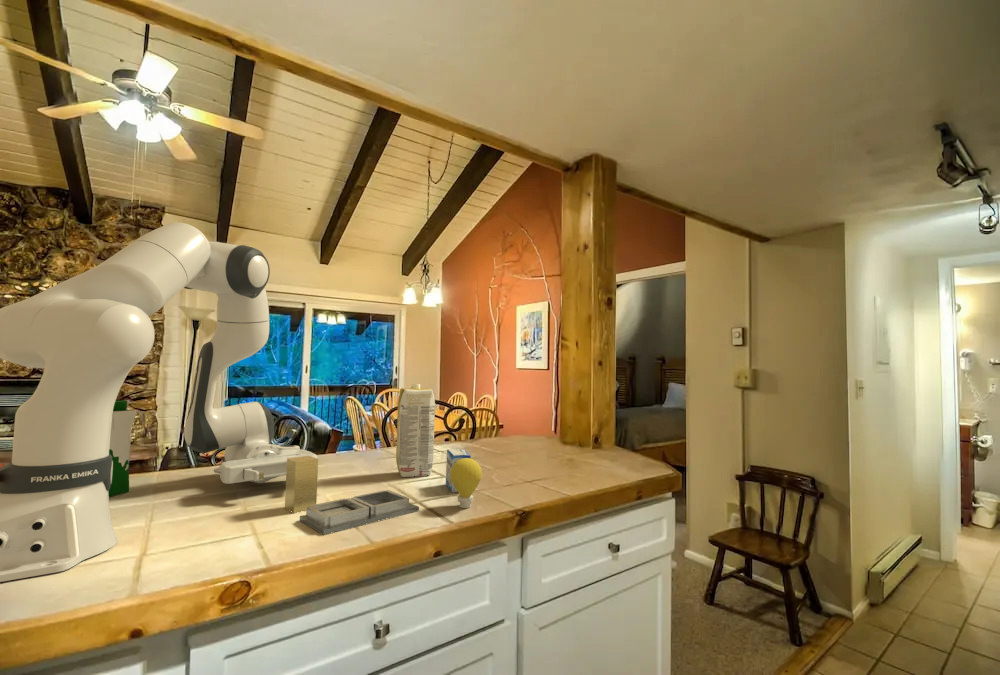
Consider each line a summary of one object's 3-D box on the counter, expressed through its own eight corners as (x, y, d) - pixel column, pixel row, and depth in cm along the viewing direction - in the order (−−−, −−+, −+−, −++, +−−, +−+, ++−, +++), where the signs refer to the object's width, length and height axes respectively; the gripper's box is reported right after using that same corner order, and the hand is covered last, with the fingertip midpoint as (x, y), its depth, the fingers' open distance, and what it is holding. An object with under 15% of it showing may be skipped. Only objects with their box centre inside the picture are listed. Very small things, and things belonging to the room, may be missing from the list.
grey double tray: (323, 535, 81) (324, 519, 82) (299, 520, 88) (300, 506, 89) (418, 510, 96) (419, 497, 96) (391, 499, 103) (392, 487, 103)
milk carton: (136, 491, 105) (142, 401, 106) (93, 502, 96) (99, 404, 97) (106, 487, 107) (111, 399, 108) (61, 498, 98) (67, 402, 99)
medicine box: (445, 484, 116) (446, 449, 117) (463, 483, 118) (463, 448, 118) (451, 493, 109) (452, 455, 109) (470, 492, 110) (471, 454, 111)
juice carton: (428, 469, 131) (430, 383, 132) (434, 476, 124) (437, 385, 125) (394, 471, 128) (397, 383, 129) (398, 478, 121) (401, 384, 122)
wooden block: (293, 513, 92) (295, 462, 93) (284, 508, 96) (286, 458, 96) (316, 508, 96) (318, 459, 96) (306, 503, 99) (308, 455, 99)
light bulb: (476, 512, 95) (477, 462, 96) (445, 509, 97) (446, 460, 97) (484, 502, 102) (485, 456, 102) (454, 500, 103) (455, 454, 104)
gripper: (211, 454, 105) (231, 465, 95) (303, 444, 119) (328, 452, 109) (210, 483, 104) (229, 496, 95) (302, 469, 119) (327, 480, 109)
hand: (283, 473), depth 102 cm, fingers open, 8 cm apart
